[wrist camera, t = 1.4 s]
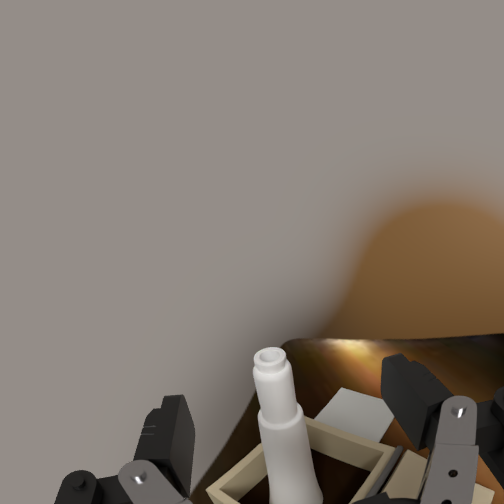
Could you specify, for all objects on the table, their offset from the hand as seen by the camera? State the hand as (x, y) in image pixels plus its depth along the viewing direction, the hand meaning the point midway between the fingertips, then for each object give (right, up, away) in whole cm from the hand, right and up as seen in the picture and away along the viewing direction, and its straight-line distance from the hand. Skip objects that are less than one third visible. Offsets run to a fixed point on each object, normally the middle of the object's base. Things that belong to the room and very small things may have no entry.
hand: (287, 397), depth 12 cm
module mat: (+13, -17, +27) cm, 34 cm away
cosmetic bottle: (+4, -22, +16) cm, 28 cm away
